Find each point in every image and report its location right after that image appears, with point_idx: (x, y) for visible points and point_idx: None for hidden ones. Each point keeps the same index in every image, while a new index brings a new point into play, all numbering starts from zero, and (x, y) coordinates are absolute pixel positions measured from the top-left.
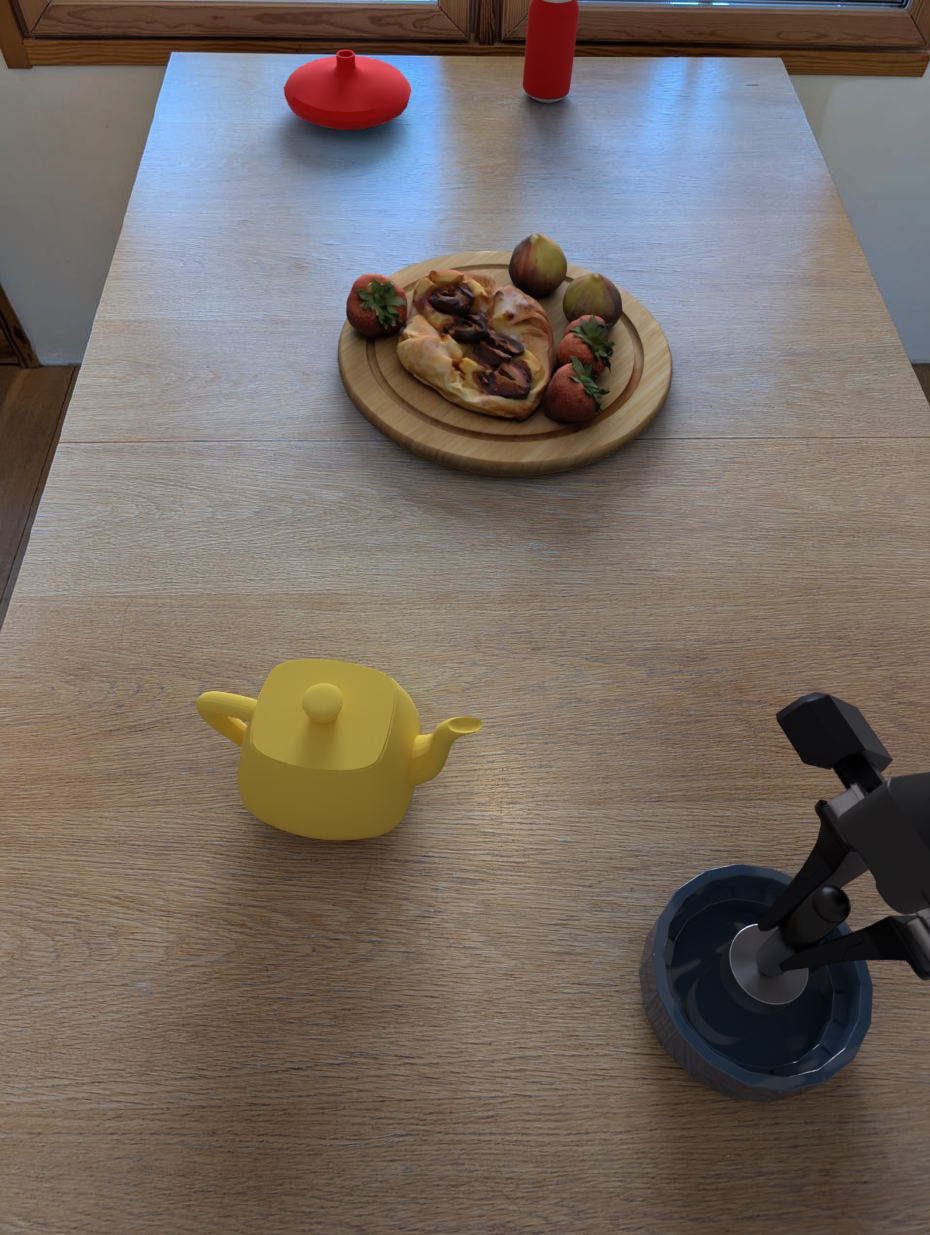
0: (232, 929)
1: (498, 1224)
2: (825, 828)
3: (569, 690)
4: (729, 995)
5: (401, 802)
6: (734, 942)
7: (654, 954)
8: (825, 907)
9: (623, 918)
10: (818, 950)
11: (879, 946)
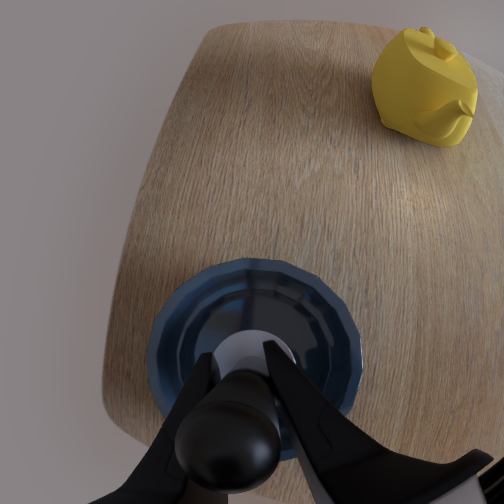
0: (320, 65)
1: (148, 163)
2: (430, 475)
3: (487, 268)
4: None
5: (401, 106)
6: (279, 341)
7: (281, 262)
8: (201, 427)
9: (326, 276)
10: (195, 403)
11: (139, 492)
